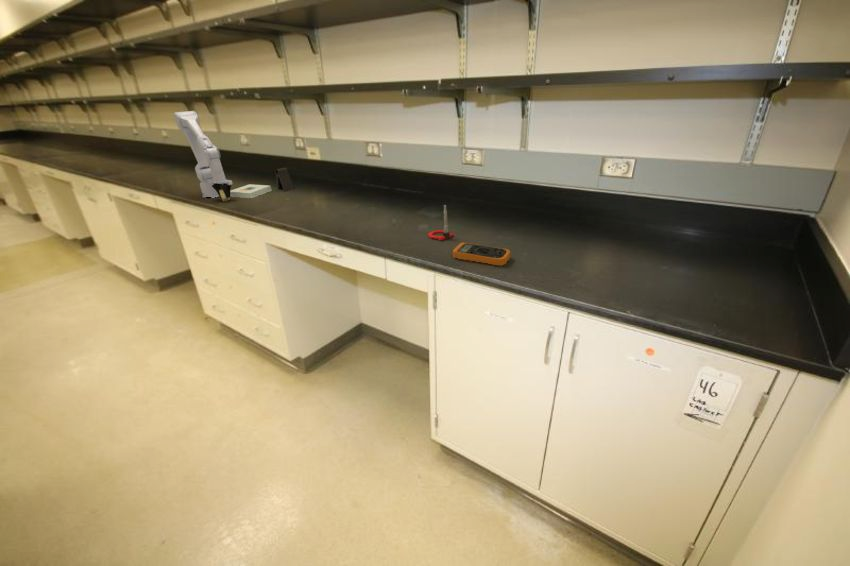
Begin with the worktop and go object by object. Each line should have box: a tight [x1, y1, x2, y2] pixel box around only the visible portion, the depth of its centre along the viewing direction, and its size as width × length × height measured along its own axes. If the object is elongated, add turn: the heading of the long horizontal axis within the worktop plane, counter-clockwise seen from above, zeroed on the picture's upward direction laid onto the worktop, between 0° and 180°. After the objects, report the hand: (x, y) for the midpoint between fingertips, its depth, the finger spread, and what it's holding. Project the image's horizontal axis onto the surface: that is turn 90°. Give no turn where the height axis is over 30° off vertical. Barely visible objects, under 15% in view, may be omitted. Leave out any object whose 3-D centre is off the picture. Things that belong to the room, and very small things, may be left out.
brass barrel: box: [219, 189, 231, 202], centre depth 199 cm, size 4×4×6 cm
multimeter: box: [452, 242, 511, 266], centre depth 122 cm, size 9×18×3 cm, turn 63°
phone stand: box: [275, 166, 295, 192], centre depth 213 cm, size 9×6×12 cm, turn 50°
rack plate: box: [230, 183, 273, 200], centre depth 209 cm, size 16×16×3 cm
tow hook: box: [427, 204, 455, 242], centre depth 139 cm, size 8×13×9 cm
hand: (225, 197), depth 199 cm, fingers closed on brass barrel, 4 cm apart
